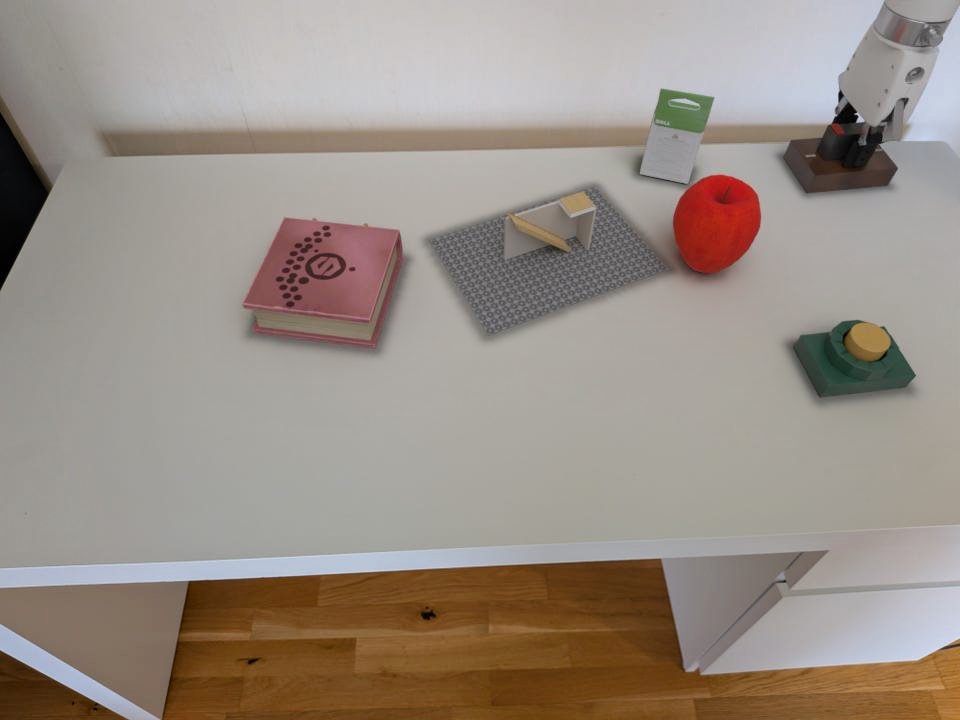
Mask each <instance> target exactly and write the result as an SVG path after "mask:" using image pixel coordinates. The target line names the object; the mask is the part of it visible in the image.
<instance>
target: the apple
mask: <svg viewBox="0 0 960 720" xmlns="http://www.w3.org/2000/svg"><path fill="white" fill-rule="evenodd" d="M672 216H673V218H672V228H673V235H674V239H675V244H676V246H677V249H678V251H679V253H680V255H681V257H682V258H683V261H684V262H685V263H686V265H687V266H688V267H689V268H691V269H692V270H693V271H696V272H699V273H702V274H715V273H718V272H720V271H723V270H724V269H726V268H729V267H731V266H733V265H734V264H735V263H736V262H738V261H739V260H740V259H741V258H742V257H743V256H744V255H745V254H746V253H747V252H748V251H749V249H750V248H751V246H752V244H753V243H754V241H755V239H756V238H757V236H758V234H759V231H760V228H761V223H762V211H761V203H760V199H759V195H758V193H757V192H756V191H755V189H754V188H753V187H752V186H751V185H749V184H748V183H746V182H745V181H743V180H741V179H739V178H737V177H735V176H731V175H726V174H711V175H708V176H705V177H702V178H700V179H699V180H698V181H696V182H695V183H693V184H692V185H691V186H689V188H687V189H686V190H684V192H683V194H682V195H681V196H680V197H679V200H678V202H677V204H676V207H675V209H674V213H673V215H672Z"/></svg>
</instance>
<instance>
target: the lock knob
mask: <svg viewBox="0 0 960 720" xmlns="http://www.w3.org/2000/svg"><path fill="white" fill-rule="evenodd" d="M863 124H864V121H861V122H858V121H857V122H856V123H846V124H838V123H835V124H832V123H830V124H827V127H826V129H825V130H824V132H823V135H822V137H821V138H822V139H821V141H820V143H819V145H818V147H817V152H818V153H819V154H820V156H821V157H822V159H823V160H824V161H828V160H839V159H845V157H846V155H847V154H848V152H849V150H850V148H851V146H852V144H853V142H854V141H858V140H859V137H860V134H861V131H862V128H863ZM877 129H878V126H877V127H872V131H871V134H874V133H876V132H877ZM878 145H880V144H877V146H878ZM877 146H876V148H877ZM876 148H875V149H874V151H873V153H872V155H873V154H874V152H875V150H876ZM872 155H871V157H872Z"/></svg>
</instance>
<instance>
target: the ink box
mask: <svg viewBox="0 0 960 720" xmlns="http://www.w3.org/2000/svg"><path fill="white" fill-rule="evenodd" d="M715 98H716V97H715V96H711V95H705V94H699V93H693V92H692V93H691V92H686V91H681V90H675V89H668V88H660V89H659V94H658V98H657V103H656V106H655V109H654V111H653V115H652V118H651V122H650V126H649V131H648V136H647V139H646V144H645V147H644V151H643V156H642V160H641V164H640V170H639V175H642V176H647V177H651V178H657V179H661V180H666V181H671V182H676V183H681V184H684V185H685V184H686V185H688V184H689V182H690V179H691V176H692V173H693V169H694V166H695V163H696V160H697V156H698V153H699V150H700V146H701V144H702V140H703V137H704V134H705V130H706V127H707V124H708V121H709V117H710V114H711V112H712V111H711V110H712V107H713V104H714V100H715ZM675 100H688V101H690V102H692V103H695V104H698V105H695V104H690V103H684V102H680V101H675Z"/></svg>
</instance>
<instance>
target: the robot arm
mask: <svg viewBox="0 0 960 720" xmlns="http://www.w3.org/2000/svg"><path fill="white" fill-rule="evenodd" d="M959 8H960V0H884V1H883V3H882V5H881V7H880V9H879V11H878V14H877V16H876V18H875V19H874V20H873V22H871V24H870V26H869V27H868V29H867V31H865V34H863V37H862V38H861V40H860V41H859V43H858V46H857V47H856V49H855V51H854V53H853V54H852V56H851V58H850V60H849V62H848V64H847V67H846V68H845V70H844V71H843V72H841V73H839V75H838V77H837V83H838V90H839V91H838V92H837V102H838V103H837V105H836V106H835V108H834V115H835V116H834V118H833V120H832V121H831V124H835V123H838V124H846V123H858V119H859V116H860V117H861V118H862V119H863V122H864V124H863V128H862V131H861V134H860V137H859V140H858V141H854V142H853V144H852V146H851V148H850V150H849V152H848V154H847V155H846V157H845V159H844V161H843V164H842V165H843V167H844V168H854V167H863V166H865V165H866V164H867V162H868V160H869V158H870V157H871V155H872V153H873V151H874V149H875V148H876V146H877V144H879V145H882V144H885V143H889V142H899V141H901V140H902V138H903V137H902V136H903V125H906V124H907V122H908V121H909V120H910V118H911V117H912V114H913V113H914V111H915V110H916V108H917V106H918V103H919V102H920V100H921V98H922V95H923V94H924V92H925V89H926V87H927V85H928V83H929V81H930V79H931V76H932V75H933V74H932V73H933V71H934V69H935V66H936V63H937V61H938V57H939V54H940V48H939V47H938V46H940V45H941V43H942V42H943V40H944V34H945V32H946V31H947V30H948V28H949V26H950V24H951V22H952V20H953V19H954V17H955V15H956V13H957V12H958V9H959ZM877 126H878V129H877V132H876V133H874V134H871V131H872V127H877Z"/></svg>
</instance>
